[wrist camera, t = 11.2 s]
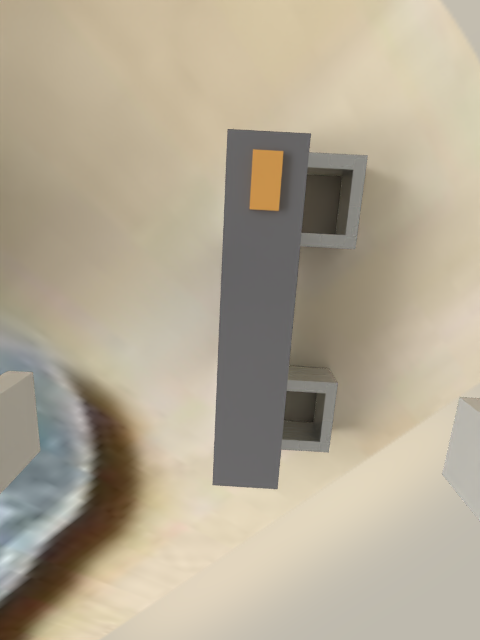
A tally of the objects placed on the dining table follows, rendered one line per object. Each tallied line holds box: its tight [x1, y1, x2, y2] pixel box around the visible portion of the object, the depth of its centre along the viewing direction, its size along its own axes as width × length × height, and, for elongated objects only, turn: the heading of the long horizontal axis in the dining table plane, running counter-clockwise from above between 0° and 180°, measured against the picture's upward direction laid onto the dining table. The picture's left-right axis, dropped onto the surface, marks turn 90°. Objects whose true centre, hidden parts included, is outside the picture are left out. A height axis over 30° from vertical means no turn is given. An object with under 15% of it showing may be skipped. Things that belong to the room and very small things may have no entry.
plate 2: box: [300, 152, 368, 249], centre depth 26 cm, size 9×6×3 cm, turn 87°
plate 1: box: [281, 366, 338, 452], centre depth 29 cm, size 9×6×3 cm, turn 87°
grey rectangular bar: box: [213, 129, 311, 489], centre depth 25 cm, size 4×22×8 cm, turn 177°
